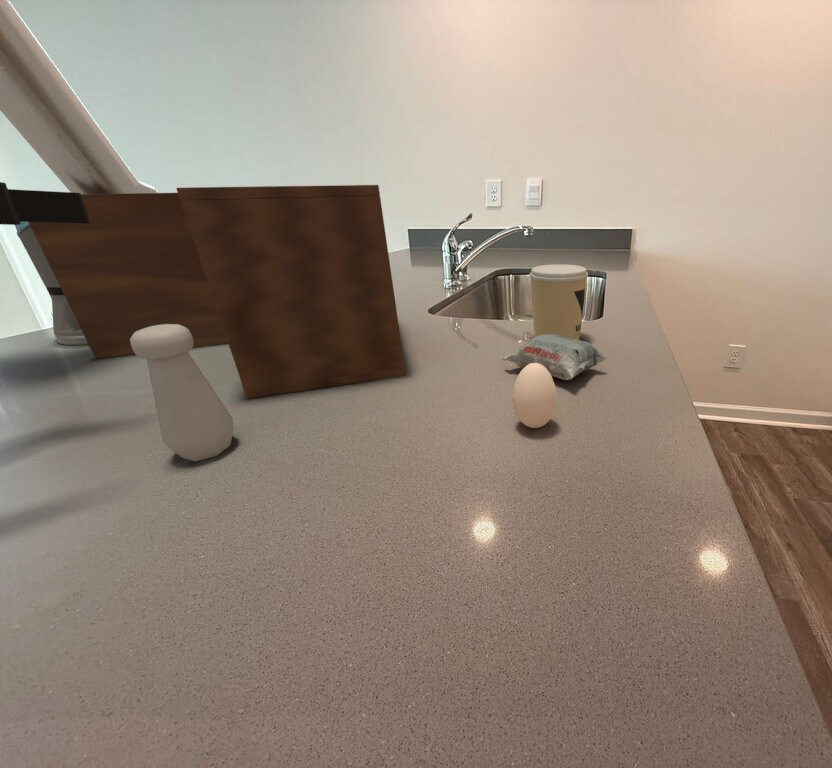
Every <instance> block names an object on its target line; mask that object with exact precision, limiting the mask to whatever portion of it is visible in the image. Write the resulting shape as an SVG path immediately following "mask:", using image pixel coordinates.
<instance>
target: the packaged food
mask: <svg viewBox="0 0 832 768" xmlns="http://www.w3.org/2000/svg"><path fill="white" fill-rule="evenodd" d="M606 359H607V358H606V356H604V353H603V354H602V352H601V351H599V349H597V348H596V346H594V345H593V344H591V342H588V341H584V340H580V339H579V340H576V339H573V338H568V337H564V336H561V335H556V334H541V335H538V336H537V337H535V336H534V337H533V338H531V339H529V340H528V341H527V342H525V343H523V344H522V345H521V346H520V347H518V349H517V350H516V351H513V352H512V353H511V354H508V355H506V356H503V358H502V361H508V362H510V363H515V364H516V366H517V367H519V368H521V369H523V368H524V367H526V366H527V365H529V364H531V363H538V364H541V365H543V366H544V367H545V368H546V369H547V370H548V371H549V373H550V374H551V376H552V378H555V379H558V380H564V381H570V380H573V379H574V378H575V377H577V376H578V375H579V374H581V373H583V372H585V371H587V370H589V369H591V368H593V367H595V366H597V365H598V364H600V363H602V362H605V361H606Z"/></svg>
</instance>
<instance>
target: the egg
mask: <svg viewBox="0 0 832 768" xmlns="http://www.w3.org/2000/svg"><path fill="white" fill-rule="evenodd" d="M557 395H558V394H557V387H556V384H555V382H554V379H553V377H552V376H551V374H550V373H549V371H548V370H547V369H546V368H545V367H544V366H543V365H541V364H538V363H531V364H529V365H527V366H526V367H524V368H521V370H520V372H519V373H518V375H517V378H516V380H515V382H514V385H513V389H512V405H513V410H514V413H515V415H516V416H517V418H518V420H519V421H520V422H521V423H522V424H523V425H525V426H526V427H528V428H531V429H538V428H541V427H543V426H546V424H548V423H549V422H550V420H551V419H552V417H553V415H554V414H555V411H556V408H557V407H556V406H557V401H558V400H557V399H558V397H557Z"/></svg>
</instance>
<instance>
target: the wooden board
mask: <svg viewBox="0 0 832 768" xmlns="http://www.w3.org/2000/svg"><path fill="white" fill-rule="evenodd" d="M175 190H176V191H177V192H176V193H178V195H179V198H180V200H181V204H182V207H183V210H184V213H185V216H186V219H187V222H188V225H189V228H190V231H191V234H192V237H193V240H194V243H195V246H196V249H197V252H198V255H199V258H200V261H201V264H202V267H203V270H204V273H205V275H206V278H207V281H208V284H209V287H210V290H211V293H212V296H213V299H214V302H215V305H216V308H217V311H218V314H219V317H220V320H221V323H222V326H223V329H224V332H225V335H226V338H227V341H228V343H227V344H228V347H229V350H230V352H231V355H232V358H233V361H234V364H235V368H236V371H237V374H238V376H239V379H240V383H241V385H242V389H243V391H244V394H245V397H246V399H254V398H255V399H256V398H262V397H269V396H276V395H281V394H283V395H284V394H288V393H296V392H303V391H310V390H317V389H324V388H331V387H337V386H338V387H339V386H344V385H353V384H359V383H365V382H373V381H378V380H383V379H384V380H385V379H388V378H389V379H390V378H396V377H397V378H398V377H403V376H404V377H405V376H406V375H407V373H406V366H405V359H404V353H403V352H404V351H403V344H402V339H401V338H402V337H401V331H400V325H399V319H398V318H399V317H398V311H397V303H396V296H395V291H394V282H393V276H392V270H391V263H390V256H389V248H388V241H387V235H386V228H385V227H386V226H385V220H384V213H383V206H382V199H381V193H380V186H379V184H333V185H331V184H329V185H325V184H324V185H267V186H266V185H263V186H260V185H258V186H196V187H195V186H194V187H192V186H190V187H189V186H188V187H176V189H175Z"/></svg>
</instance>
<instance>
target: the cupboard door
mask: <svg viewBox="0 0 832 768" xmlns="http://www.w3.org/2000/svg"><path fill="white" fill-rule="evenodd" d="M81 196H82V200H83V203H84V206H85V209H86V212H87V215H88V218H89V222H90V223H56V222H29V225H30V227H31V229H32V231H33V233H34V235H35V237H36V239H37V241H38V243H39V245H40V247H41V249H42V251H43V253H44V255H45V257H46V259H47V261H48V263H49V265H50V267H51V269H52V271H53V273H54V275H55V277H56V279H57V281H58V283H59V285H60V287H61V289H62V291H63V294H64V296H65V298H66V300H67V302H68V304H69V306H70V308H71V310H72V312H73V314H74V316H75V318H76V320H77V322H78V324H79V326H80V328H81V330H82V332H83V334H84V336H85V338H86V340H87V342H88V346H89V348H90V351H91V352H92V355H93V357H94V359H95V360H98V359H107V358H115V357H123V356H124V357H125V356H132V355H133V356H134V355H136V354H135V353H134V351H133V349H132V347H131V342H130V338H131V337H132V335H133V334H134V333H135V332H136V331H139V330H141V329H144V328H147V327H150V326H156V325H163V324H179V325H182V326H184V327H186V328H188V329H189V331H190V333H191V334H192V337H193V341H194V344H193V348H201V347H208V346H218V345H226V344H228V341H227V338H226V335H225V332H224V329H223V326H222V323H221V320H220V317H219V314H218V311H217V308H216V305H215V302H214V299H213V296H212V293H211V290H210V287H209V284H208V281H207V278H206V275H205V273H204V270H203V267H202V264H201V261H200V258H199V255H198V252H197V249H196V246H195V243H194V240H193V237H192V234H191V231H190V228H189V225H188V222H187V219H186V216H185V213H184V210H183V207H182V204H181V200H180V198H179V195H178V192H158V193H129V194H81Z"/></svg>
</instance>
